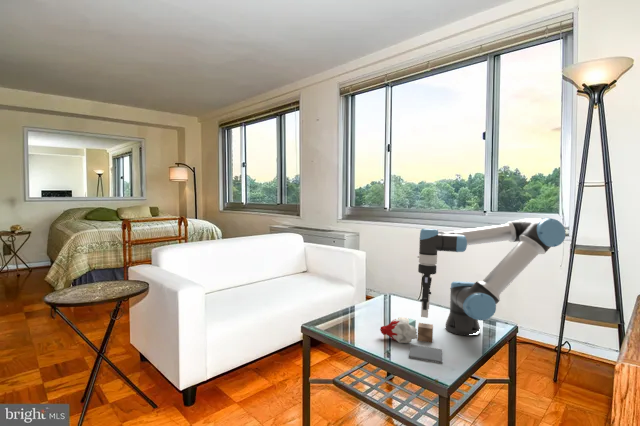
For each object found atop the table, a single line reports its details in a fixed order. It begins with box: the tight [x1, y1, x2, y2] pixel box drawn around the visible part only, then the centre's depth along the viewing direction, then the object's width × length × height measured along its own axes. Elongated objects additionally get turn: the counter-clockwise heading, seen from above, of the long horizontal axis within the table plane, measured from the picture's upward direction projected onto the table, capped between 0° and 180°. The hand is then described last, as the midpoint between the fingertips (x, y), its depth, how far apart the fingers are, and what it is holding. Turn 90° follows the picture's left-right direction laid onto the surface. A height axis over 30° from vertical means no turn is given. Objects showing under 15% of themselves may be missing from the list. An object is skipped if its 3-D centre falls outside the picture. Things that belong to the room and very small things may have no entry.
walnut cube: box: [417, 322, 434, 344], centre depth 151 cm, size 6×6×6 cm
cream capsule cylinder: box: [397, 316, 410, 323], centre depth 159 cm, size 5×5×6 cm
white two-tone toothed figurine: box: [379, 318, 418, 344], centre depth 149 cm, size 9×11×15 cm
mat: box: [408, 344, 443, 365], centre depth 134 cm, size 12×12×1 cm
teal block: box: [408, 318, 416, 328], centre depth 164 cm, size 4×6×4 cm, turn 139°
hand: (425, 312), depth 150 cm, fingers open, 13 cm apart
